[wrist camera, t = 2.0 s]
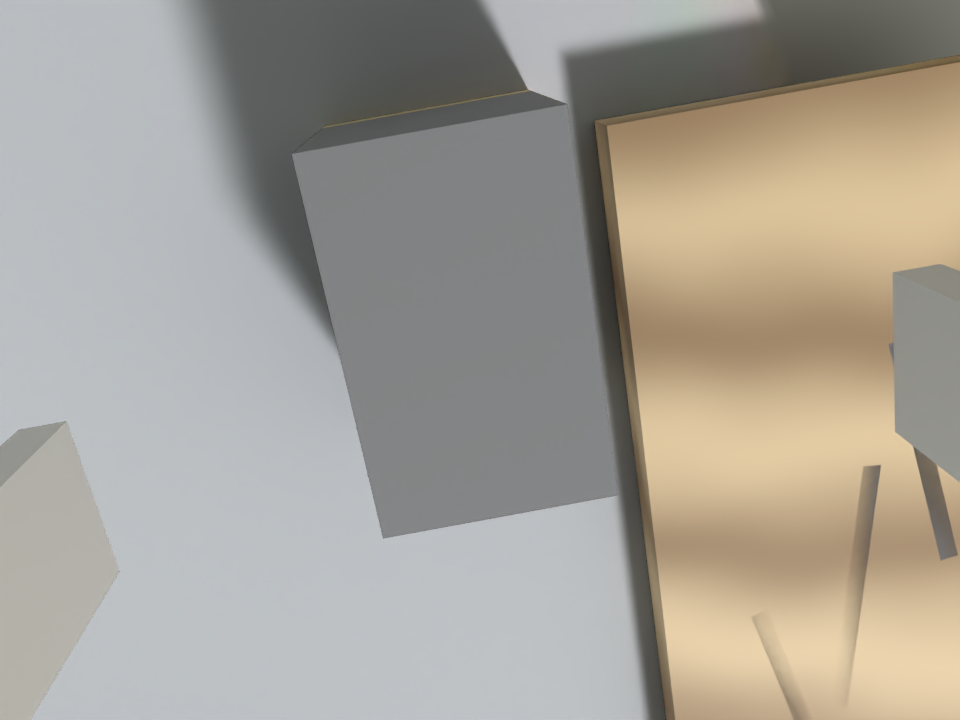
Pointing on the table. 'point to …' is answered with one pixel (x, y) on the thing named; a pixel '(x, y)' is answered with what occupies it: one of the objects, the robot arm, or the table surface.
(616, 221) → the board
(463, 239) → the block
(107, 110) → the table surface
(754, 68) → the table surface
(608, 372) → the table surface
